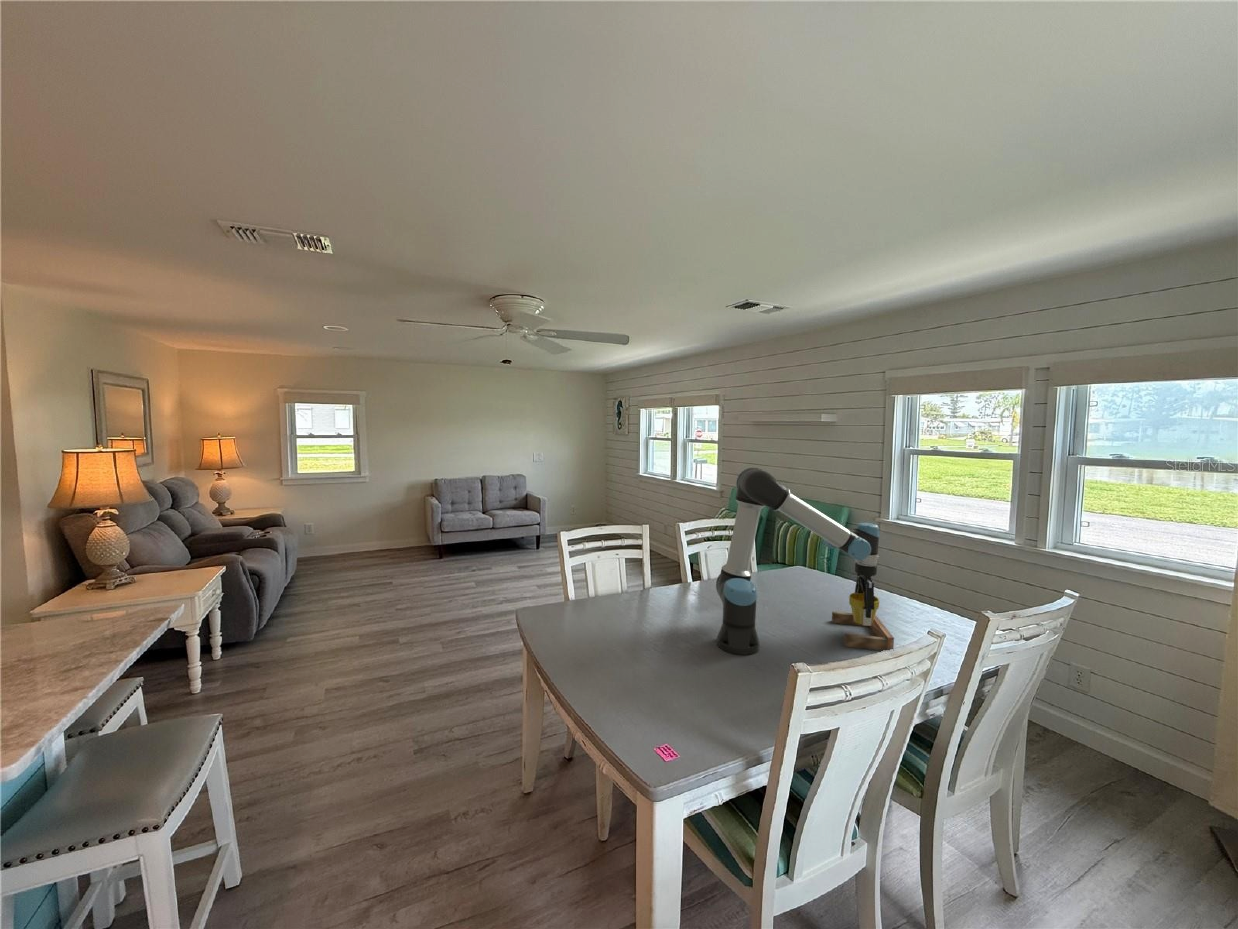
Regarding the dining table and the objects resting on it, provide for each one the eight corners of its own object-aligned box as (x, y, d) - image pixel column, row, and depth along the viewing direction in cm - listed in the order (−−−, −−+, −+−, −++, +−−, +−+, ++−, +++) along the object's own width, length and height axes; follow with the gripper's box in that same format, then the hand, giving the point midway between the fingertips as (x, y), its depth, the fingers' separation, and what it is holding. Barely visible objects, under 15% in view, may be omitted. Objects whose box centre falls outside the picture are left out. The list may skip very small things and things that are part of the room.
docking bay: (845, 646, 181) (846, 633, 181) (831, 620, 205) (832, 609, 204) (893, 651, 178) (894, 638, 178) (873, 624, 201) (874, 612, 201)
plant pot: (859, 628, 185) (861, 602, 184) (842, 617, 195) (843, 593, 194) (884, 626, 187) (885, 601, 186) (865, 615, 197) (866, 591, 196)
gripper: (886, 573, 177) (882, 632, 179) (868, 556, 199) (865, 609, 201) (863, 571, 178) (860, 630, 180) (848, 555, 201) (845, 608, 203)
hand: (862, 619), depth 191 cm, fingers closed on plant pot, 10 cm apart
